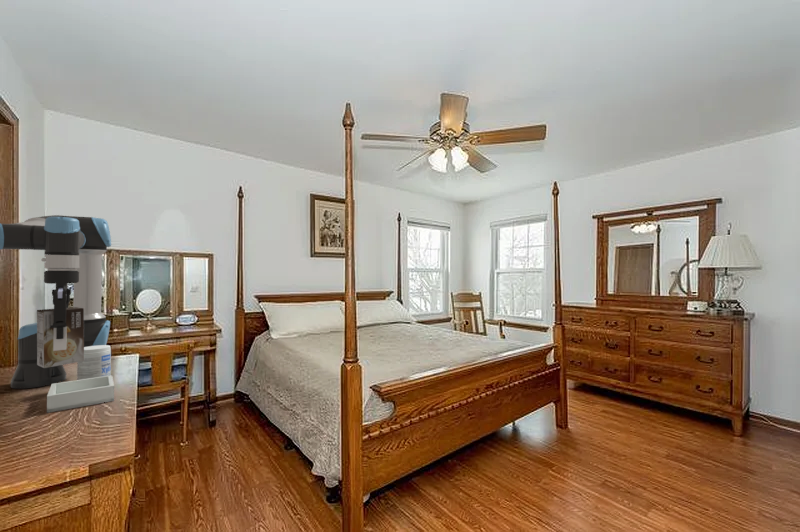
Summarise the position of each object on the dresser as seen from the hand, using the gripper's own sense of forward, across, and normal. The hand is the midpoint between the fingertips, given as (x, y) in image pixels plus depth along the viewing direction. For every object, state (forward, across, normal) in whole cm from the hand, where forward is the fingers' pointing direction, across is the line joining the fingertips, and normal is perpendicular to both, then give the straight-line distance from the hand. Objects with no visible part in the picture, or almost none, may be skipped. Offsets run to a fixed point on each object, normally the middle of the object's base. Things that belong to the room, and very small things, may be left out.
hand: (61, 347), depth 107 cm
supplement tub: (+21, -30, +8) cm, 37 cm away
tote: (+21, -15, +5) cm, 26 cm away
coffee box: (+5, 0, 0) cm, 5 cm away
